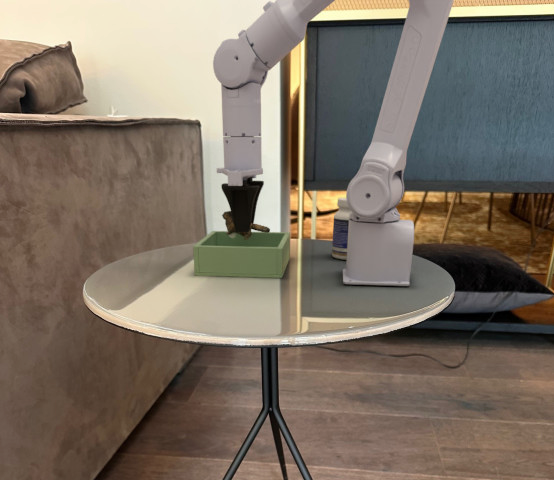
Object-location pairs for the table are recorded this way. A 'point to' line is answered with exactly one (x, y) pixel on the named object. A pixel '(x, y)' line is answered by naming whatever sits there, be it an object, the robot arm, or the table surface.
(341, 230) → the pill bottle
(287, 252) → the basket
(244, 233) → the cat figurine
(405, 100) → the robot arm
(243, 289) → the table surface
